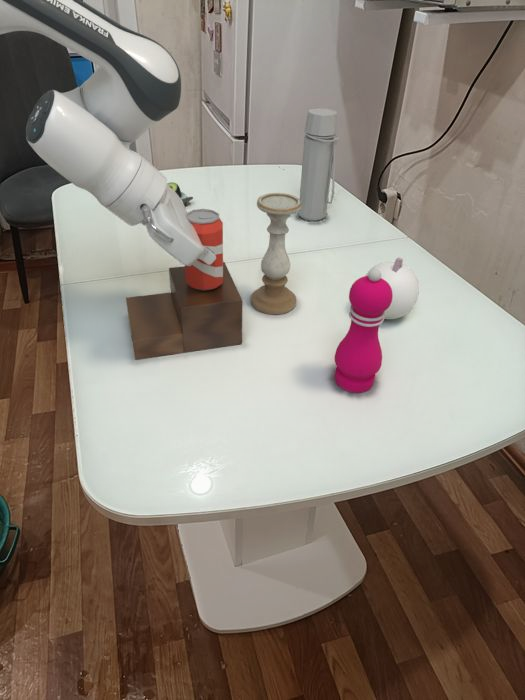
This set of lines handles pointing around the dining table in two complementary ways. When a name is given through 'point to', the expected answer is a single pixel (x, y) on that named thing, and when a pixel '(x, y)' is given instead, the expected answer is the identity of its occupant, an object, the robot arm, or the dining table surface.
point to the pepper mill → (363, 334)
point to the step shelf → (185, 318)
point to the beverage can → (210, 237)
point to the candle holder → (276, 255)
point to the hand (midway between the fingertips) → (207, 248)
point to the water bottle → (318, 163)
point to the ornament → (399, 287)
